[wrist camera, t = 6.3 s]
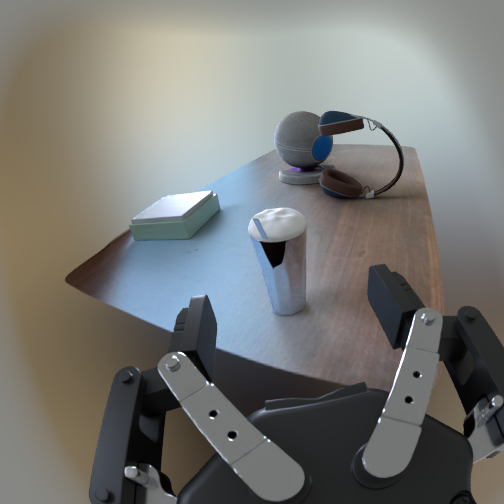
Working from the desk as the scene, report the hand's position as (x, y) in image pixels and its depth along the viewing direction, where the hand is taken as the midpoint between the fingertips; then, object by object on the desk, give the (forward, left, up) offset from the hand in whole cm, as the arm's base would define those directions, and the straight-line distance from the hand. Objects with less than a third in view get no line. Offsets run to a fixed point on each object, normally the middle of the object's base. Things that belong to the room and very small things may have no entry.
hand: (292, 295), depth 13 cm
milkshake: (-3, +9, -9) cm, 13 cm away
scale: (-27, +28, -9) cm, 40 cm away
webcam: (-7, +52, -9) cm, 53 cm away
